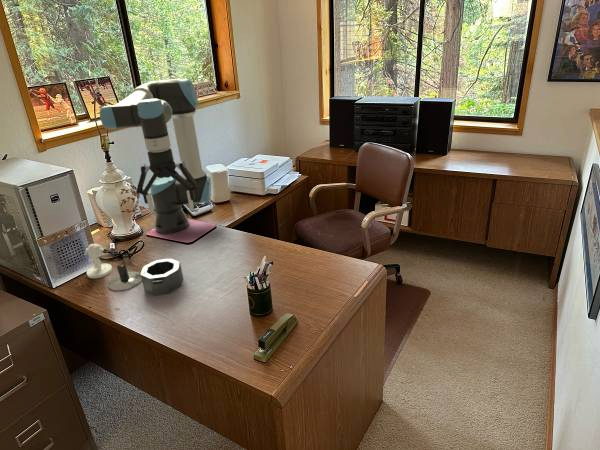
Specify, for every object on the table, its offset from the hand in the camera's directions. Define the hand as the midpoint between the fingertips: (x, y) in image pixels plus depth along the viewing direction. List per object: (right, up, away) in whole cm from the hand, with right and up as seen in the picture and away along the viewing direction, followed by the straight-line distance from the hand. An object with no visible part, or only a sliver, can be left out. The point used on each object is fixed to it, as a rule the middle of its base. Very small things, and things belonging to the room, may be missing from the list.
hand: (172, 210), depth 147 cm
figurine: (-34, -24, +20) cm, 46 cm away
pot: (-5, -27, +8) cm, 28 cm away
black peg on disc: (-21, -26, +12) cm, 36 cm away
